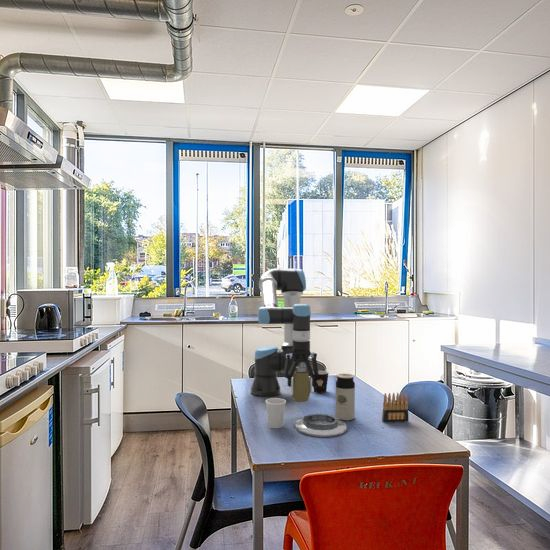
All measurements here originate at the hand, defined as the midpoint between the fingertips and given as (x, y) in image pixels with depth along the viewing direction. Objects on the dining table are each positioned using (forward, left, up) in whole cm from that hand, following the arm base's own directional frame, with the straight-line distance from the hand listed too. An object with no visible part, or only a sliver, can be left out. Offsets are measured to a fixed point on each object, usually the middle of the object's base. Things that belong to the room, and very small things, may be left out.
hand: (300, 393), depth 188 cm
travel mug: (+8, +17, -10) cm, 21 cm away
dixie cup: (+10, -14, -10) cm, 20 cm away
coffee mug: (-36, +23, -10) cm, 44 cm away
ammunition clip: (+18, +35, -10) cm, 41 cm away
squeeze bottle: (0, 0, -3) cm, 3 cm away
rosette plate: (+17, +2, -9) cm, 20 cm away
